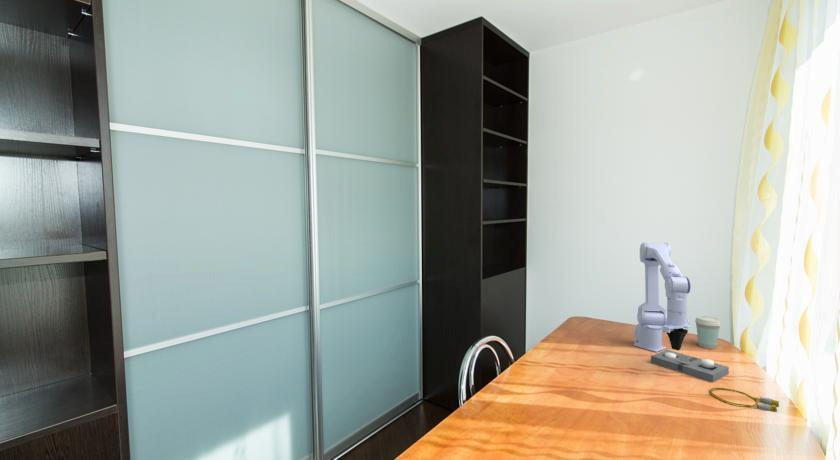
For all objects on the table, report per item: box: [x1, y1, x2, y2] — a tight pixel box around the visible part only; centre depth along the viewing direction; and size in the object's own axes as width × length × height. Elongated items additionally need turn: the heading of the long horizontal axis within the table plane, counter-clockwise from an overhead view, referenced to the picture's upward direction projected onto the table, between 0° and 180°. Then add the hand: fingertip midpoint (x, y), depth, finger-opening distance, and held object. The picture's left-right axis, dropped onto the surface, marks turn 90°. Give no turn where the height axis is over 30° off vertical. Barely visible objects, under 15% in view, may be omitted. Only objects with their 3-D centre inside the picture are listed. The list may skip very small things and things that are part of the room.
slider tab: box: [678, 353, 690, 364], centre depth 138 cm, size 3×2×3 cm
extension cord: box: [709, 387, 780, 412], centre depth 116 cm, size 12×16×2 cm
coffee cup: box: [695, 315, 721, 350], centre depth 160 cm, size 8×8×12 cm
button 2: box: [700, 357, 715, 368], centre depth 134 cm, size 4×4×2 cm
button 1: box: [665, 352, 676, 359], centre depth 144 cm, size 4×4×2 cm
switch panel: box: [650, 349, 730, 383], centre depth 139 cm, size 20×12×2 cm, turn 32°
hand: (676, 349), depth 135 cm, fingers closed
